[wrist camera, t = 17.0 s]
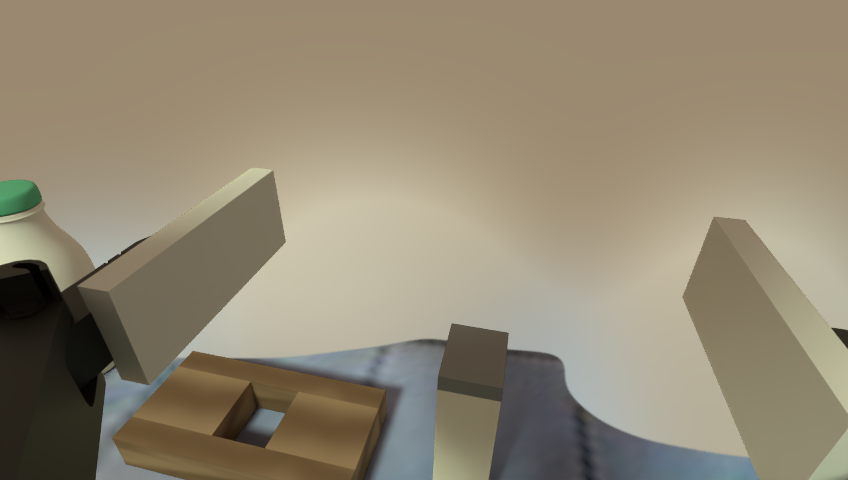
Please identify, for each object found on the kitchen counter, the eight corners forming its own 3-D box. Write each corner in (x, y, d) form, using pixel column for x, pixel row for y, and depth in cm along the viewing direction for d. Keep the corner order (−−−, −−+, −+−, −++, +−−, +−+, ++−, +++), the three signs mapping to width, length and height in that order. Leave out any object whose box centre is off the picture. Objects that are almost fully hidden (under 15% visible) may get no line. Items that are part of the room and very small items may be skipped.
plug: (481, 522, 35) (503, 388, 27) (431, 509, 36) (438, 376, 28) (488, 462, 39) (508, 332, 31) (443, 453, 40) (451, 323, 32)
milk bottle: (50, 347, 50) (-43, 178, 39) (130, 327, 53) (64, 166, 42) (34, 399, 44) (-80, 217, 34) (126, 373, 47) (47, 198, 36)
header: (348, 522, 35) (344, 496, 33) (125, 463, 38) (112, 437, 36) (386, 415, 43) (385, 389, 41) (201, 375, 47) (193, 351, 45)
